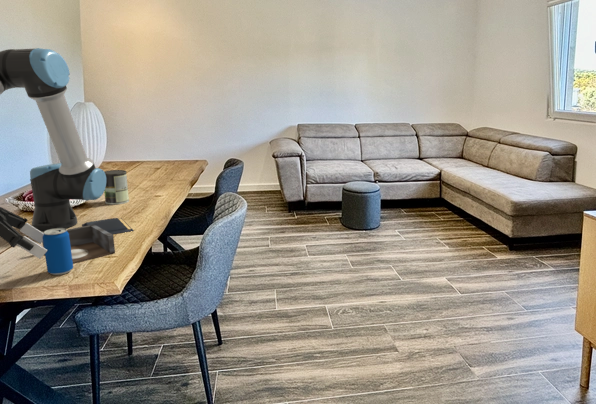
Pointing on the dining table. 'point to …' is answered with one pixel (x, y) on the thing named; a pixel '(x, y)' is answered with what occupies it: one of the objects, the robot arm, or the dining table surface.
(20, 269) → the dining table surface
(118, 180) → the coffee can
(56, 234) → the beverage can
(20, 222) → the robot arm
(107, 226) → the dark grey flat rectangle
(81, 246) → the corner tray
